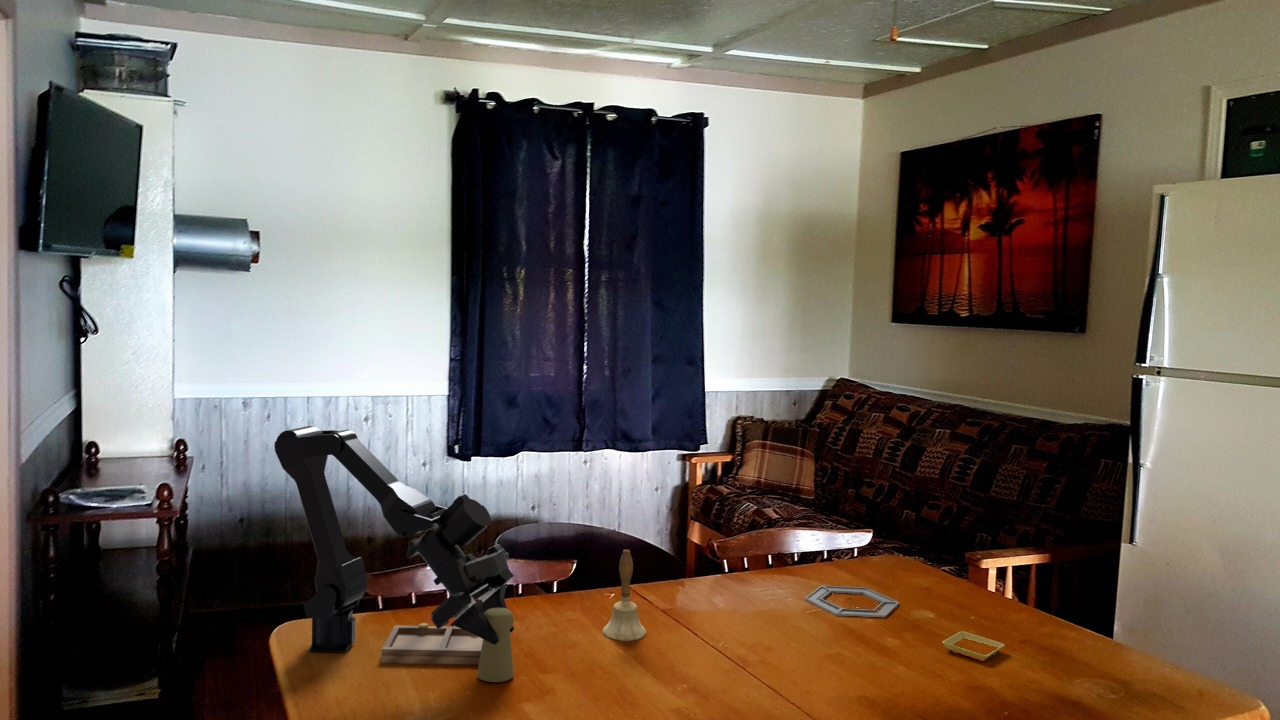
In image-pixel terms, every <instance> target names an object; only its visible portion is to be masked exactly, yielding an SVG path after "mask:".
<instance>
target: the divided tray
mask: <svg viewBox="0 0 1280 720" xmlns="http://www.w3.org/2000/svg"><path fill="white" fill-rule="evenodd" d="M482 643H483V639H482V638H480V637H478V636H476V635H474V634H472V633H470V632H468V631H465V630H463V629H461V628H458V627H456V626H453V627H452V626H451V625H450V626H446V625H445V626H443V627H442V628H440V629H437V628H436V626H435V625H429V624H428V623H425V622H423V623H420V624H418V625H394V626H393V628H392V630H391V631H390V633H389V635H388V637H387V639H386V640H385V643H384V644H383V646H382V648H381V655H380V663H381V664H421V665H422V664H426V665H427V664H429V665H431V664H434V665H478V666H479V660H480V655H481V649H482Z"/></svg>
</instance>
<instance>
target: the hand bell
mask: <svg viewBox="0 0 1280 720" xmlns="http://www.w3.org/2000/svg"><path fill="white" fill-rule="evenodd" d="M618 566H619V567H618V568H619V569H618V571H619V578H620V580H621V581H620V582H621V589H620V591H621V592H620V597H621V598H620V600H619V601H617V602H615V603H614V605H613V609H612V610H613V611H612V613H611V617H610V620H609V621H608V623H607V624H606V625H605V626H604V627H603V628H602V630H601V631H602V634H603V635H604V636H605V637H606V638H608V639H611V640H613V641H614V640H615V641H621V642H630V641H637V640H640V639H643V638H644V637H646V635H647V631H646V629H645V627H644V626H643V625H642V623H641V621H640V619H639V613H638V605H637V604H636V603H635V602H633V601H631V593H630V592H631V588H630V586H631V579H632V576H633V574H634V573H633V571H634V562H633V557H632V555H631V551H630V549H623V550H622V554H621V556H620V560H619V565H618Z"/></svg>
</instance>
